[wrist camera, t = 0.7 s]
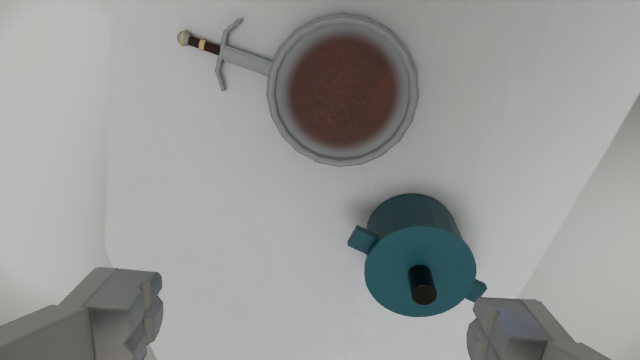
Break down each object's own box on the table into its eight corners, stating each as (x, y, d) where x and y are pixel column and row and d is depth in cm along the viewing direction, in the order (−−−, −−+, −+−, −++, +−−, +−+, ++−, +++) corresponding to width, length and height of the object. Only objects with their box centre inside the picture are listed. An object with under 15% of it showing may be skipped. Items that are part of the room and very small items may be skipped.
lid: (397, 203, 43) (401, 225, 38) (495, 249, 44) (510, 276, 39) (346, 284, 47) (345, 313, 43) (436, 324, 48) (444, 355, 44)
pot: (373, 169, 50) (376, 199, 42) (490, 224, 51) (513, 263, 44) (334, 239, 54) (330, 277, 46) (442, 287, 56) (455, 333, 48)
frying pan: (186, -49, 40) (447, 46, 41) (197, -45, 43) (442, 44, 43) (160, 109, 47) (384, 189, 47) (171, 104, 49) (383, 179, 50)
